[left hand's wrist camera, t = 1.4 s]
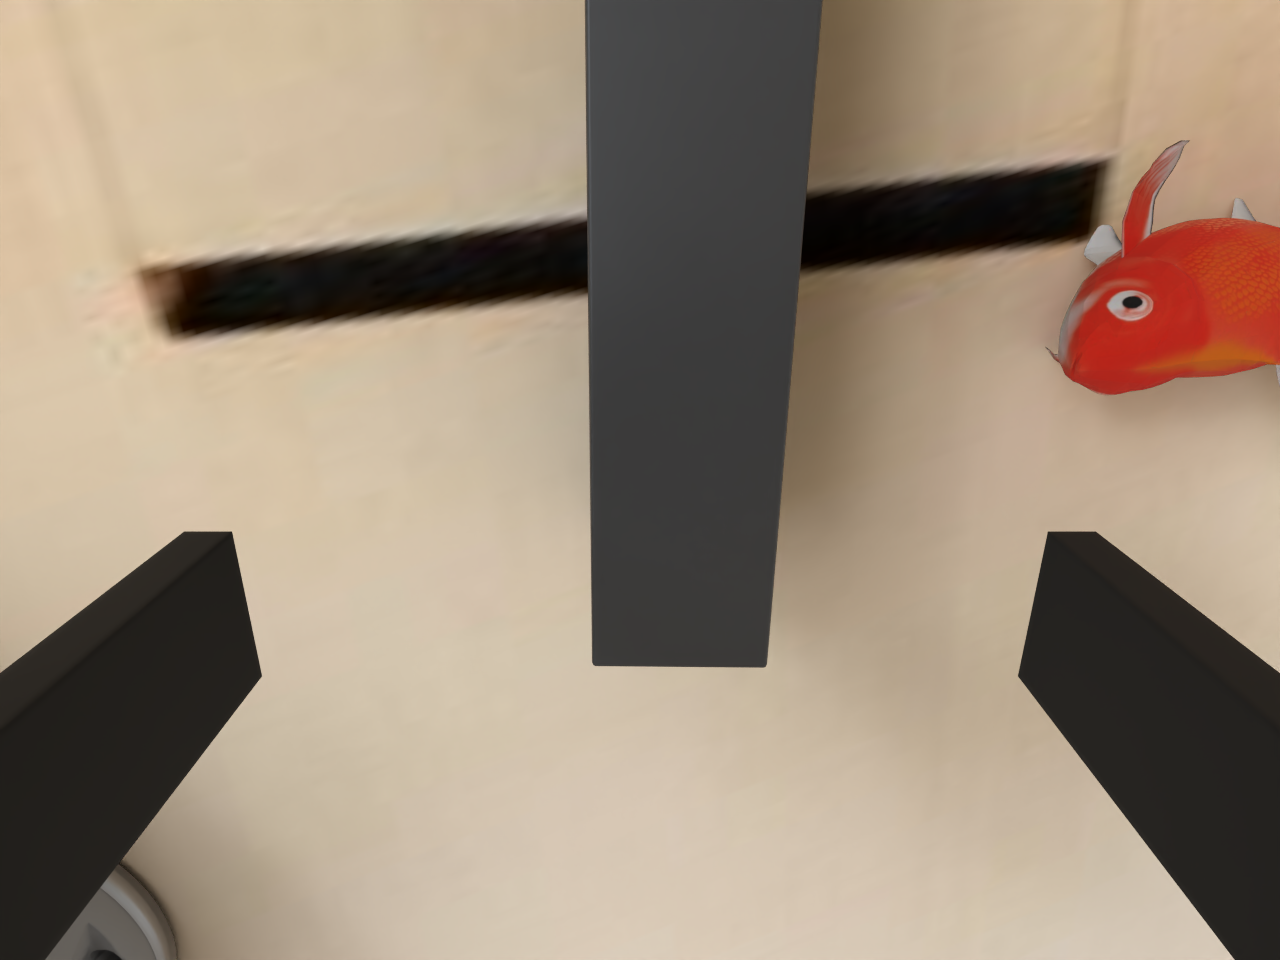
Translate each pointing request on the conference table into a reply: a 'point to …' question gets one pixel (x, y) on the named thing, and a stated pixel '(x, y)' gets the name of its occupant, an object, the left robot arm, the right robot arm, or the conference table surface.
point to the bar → (692, 316)
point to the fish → (1173, 297)
